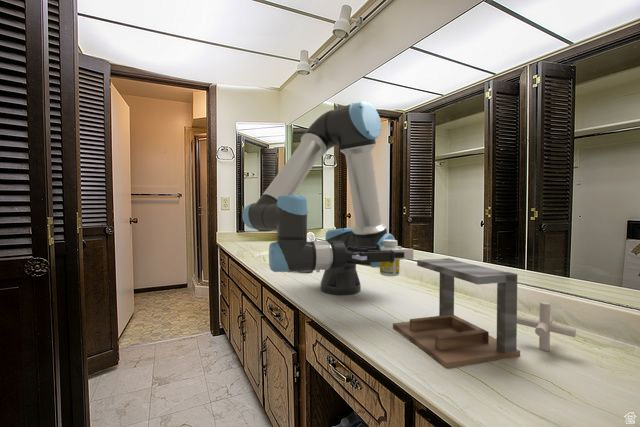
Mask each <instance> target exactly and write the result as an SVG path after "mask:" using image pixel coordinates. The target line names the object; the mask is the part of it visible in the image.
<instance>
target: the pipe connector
mask: <svg viewBox="0 0 640 427" xmlns="http://www.w3.org/2000/svg"><path fill="white" fill-rule="evenodd" d="M553 322H554V319H553V317H552V316H551V303H550V302H548V301H547V302H546V301H540V302H539V319H536V318H535V319H534V318H529V317H525V316H520V315H517V325H521V326H525V327H530V328H534V333H535V334H536V335H537V336H538V338H539V339H538V343H539V344H538V348H539V349H541V350H542V351H546V352H549V351H550V348H551V347H550V342H551V333H556V334H558V335H563V336H567V337H572V338H576V331H577V330H576V328H574V327H570V326H565V325H561V324H556V323H553Z"/></svg>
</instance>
